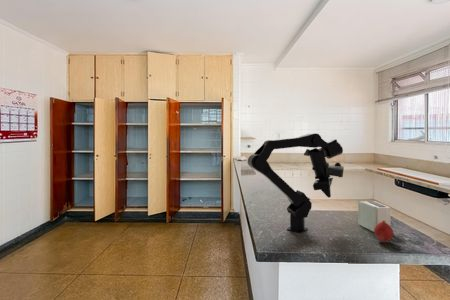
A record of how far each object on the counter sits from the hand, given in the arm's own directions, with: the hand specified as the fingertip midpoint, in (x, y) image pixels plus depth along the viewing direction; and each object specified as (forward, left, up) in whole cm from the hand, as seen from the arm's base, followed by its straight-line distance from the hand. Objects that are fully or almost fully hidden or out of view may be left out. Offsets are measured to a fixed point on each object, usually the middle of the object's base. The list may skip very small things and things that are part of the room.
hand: (329, 197), depth 112 cm
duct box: (+10, -15, -13) cm, 22 cm away
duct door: (+7, -13, -12) cm, 19 cm away
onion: (-5, -21, -13) cm, 25 cm away
